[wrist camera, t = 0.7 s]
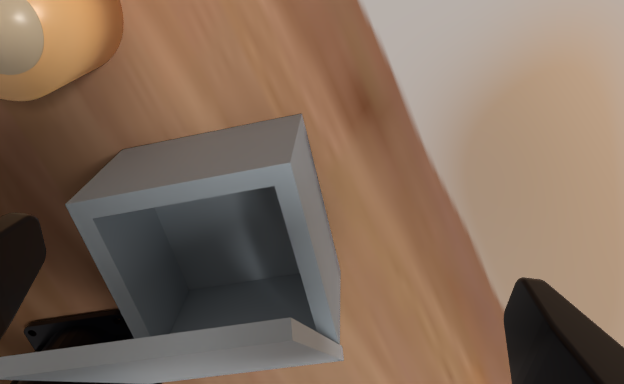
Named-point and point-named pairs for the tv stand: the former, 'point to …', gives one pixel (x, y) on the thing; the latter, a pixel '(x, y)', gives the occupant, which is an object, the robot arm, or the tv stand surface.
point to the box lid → (179, 355)
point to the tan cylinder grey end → (54, 43)
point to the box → (214, 231)
